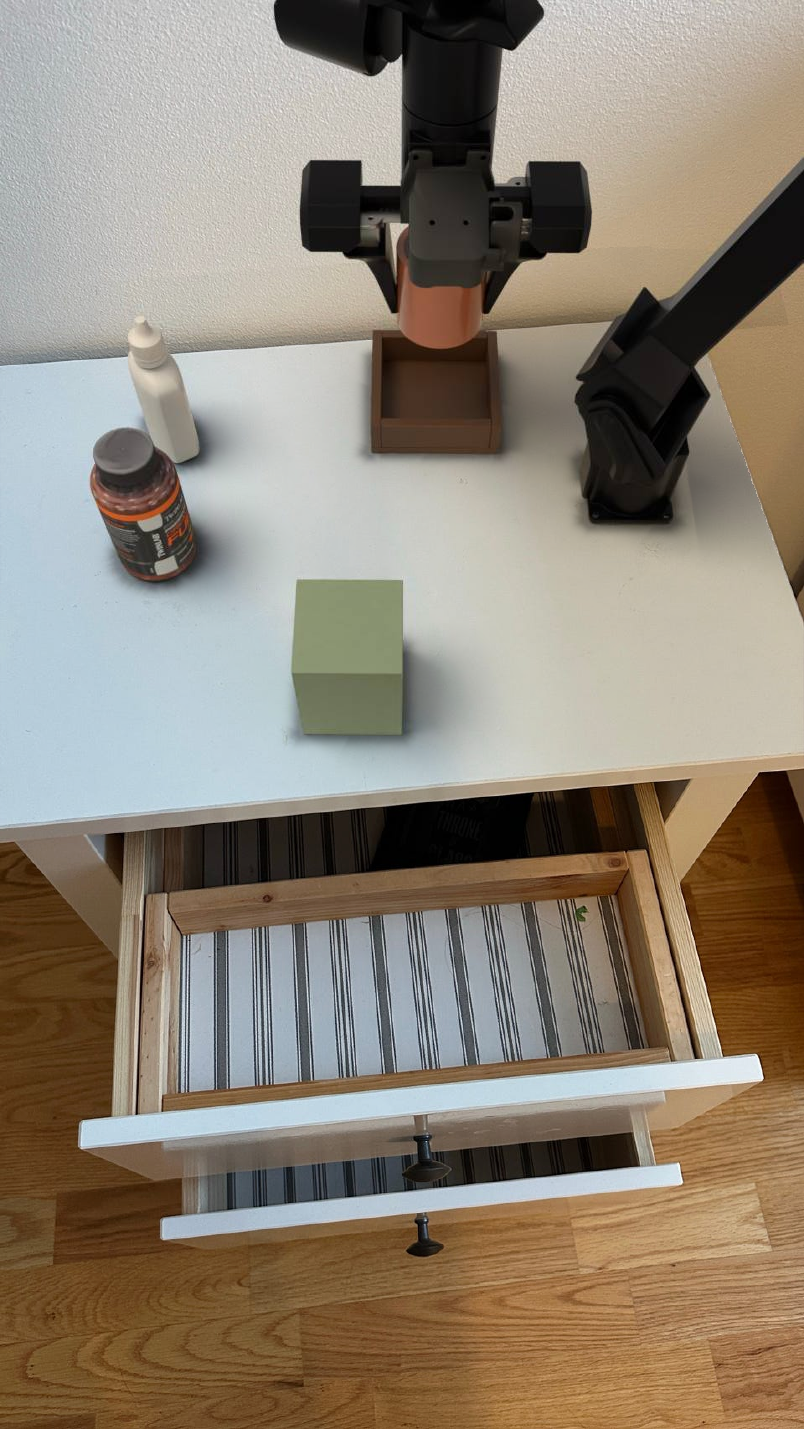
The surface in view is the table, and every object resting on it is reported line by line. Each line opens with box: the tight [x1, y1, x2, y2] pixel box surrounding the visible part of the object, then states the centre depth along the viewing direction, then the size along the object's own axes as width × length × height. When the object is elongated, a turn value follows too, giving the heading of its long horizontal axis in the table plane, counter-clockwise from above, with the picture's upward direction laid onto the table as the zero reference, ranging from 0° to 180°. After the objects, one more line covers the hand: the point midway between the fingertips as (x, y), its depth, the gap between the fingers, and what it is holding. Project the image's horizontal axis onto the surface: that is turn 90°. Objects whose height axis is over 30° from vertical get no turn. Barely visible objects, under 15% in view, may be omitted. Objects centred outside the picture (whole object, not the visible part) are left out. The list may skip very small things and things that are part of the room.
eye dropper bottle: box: [127, 315, 200, 464], centre depth 74 cm, size 4×6×12 cm
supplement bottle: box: [89, 426, 198, 582], centre depth 69 cm, size 6×6×11 cm
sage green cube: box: [290, 578, 404, 736], centre depth 65 cm, size 7×7×9 cm
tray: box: [370, 329, 503, 454], centre depth 79 cm, size 10×10×3 cm
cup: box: [395, 226, 487, 349], centre depth 70 cm, size 6×6×6 cm
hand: (439, 310), depth 72 cm, fingers closed on cup, 6 cm apart
